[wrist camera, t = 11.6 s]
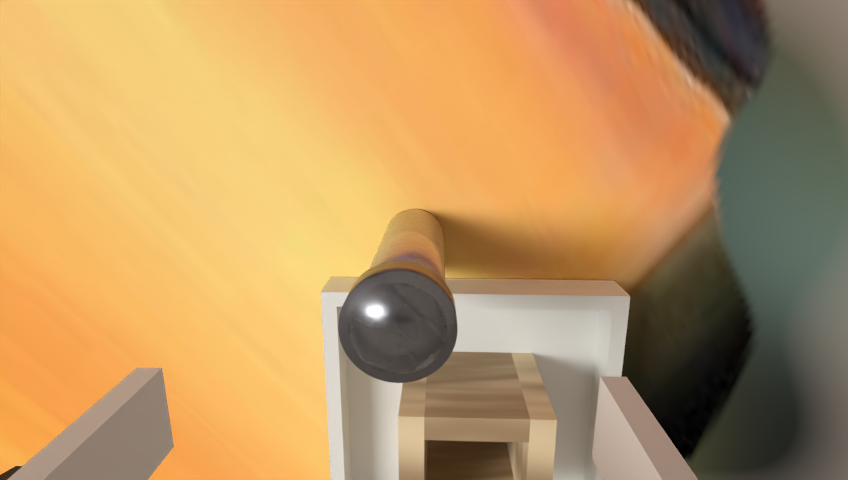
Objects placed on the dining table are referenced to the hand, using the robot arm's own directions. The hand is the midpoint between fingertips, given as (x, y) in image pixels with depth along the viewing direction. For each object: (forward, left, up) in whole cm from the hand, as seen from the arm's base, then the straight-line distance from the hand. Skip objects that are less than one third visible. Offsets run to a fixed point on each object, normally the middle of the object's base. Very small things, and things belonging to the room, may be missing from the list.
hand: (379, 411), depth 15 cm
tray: (+13, +4, -20) cm, 24 cm away
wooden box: (+13, +4, -20) cm, 24 cm away
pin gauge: (0, 0, -20) cm, 20 cm away
